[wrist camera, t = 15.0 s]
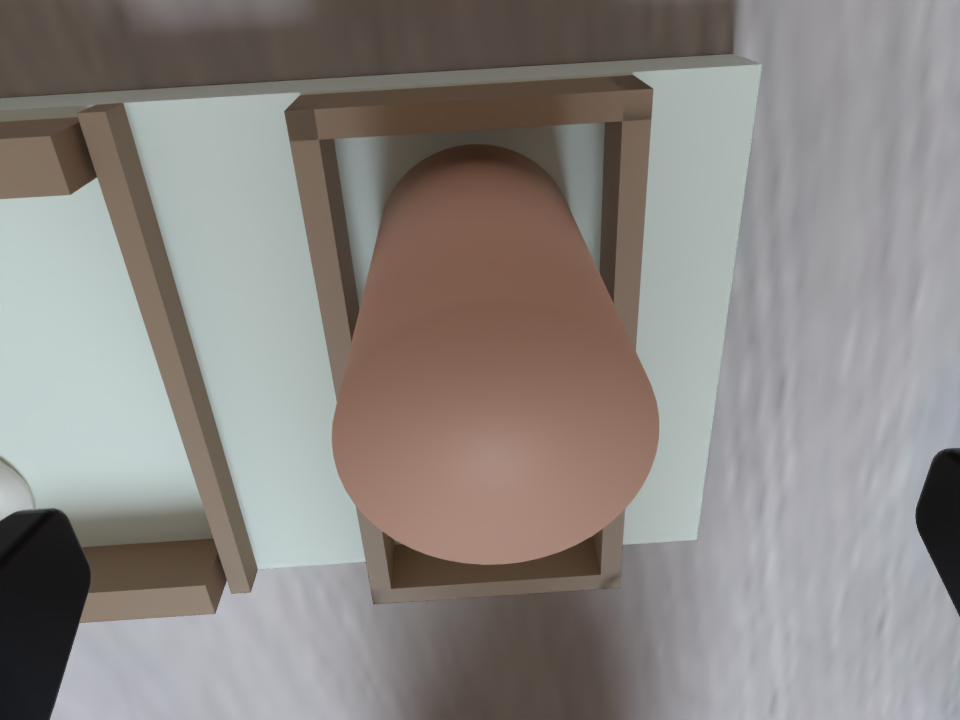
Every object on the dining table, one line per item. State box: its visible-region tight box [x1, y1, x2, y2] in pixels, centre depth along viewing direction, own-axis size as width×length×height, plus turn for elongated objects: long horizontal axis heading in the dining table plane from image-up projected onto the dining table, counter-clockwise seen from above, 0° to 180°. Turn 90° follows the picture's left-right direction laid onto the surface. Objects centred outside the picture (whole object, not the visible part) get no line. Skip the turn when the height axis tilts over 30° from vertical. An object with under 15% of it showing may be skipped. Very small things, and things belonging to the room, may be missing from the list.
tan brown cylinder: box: [332, 144, 659, 565], centre depth 12 cm, size 4×4×7 cm
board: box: [0, 54, 762, 623], centre depth 16 cm, size 12×24×3 cm, turn 93°
